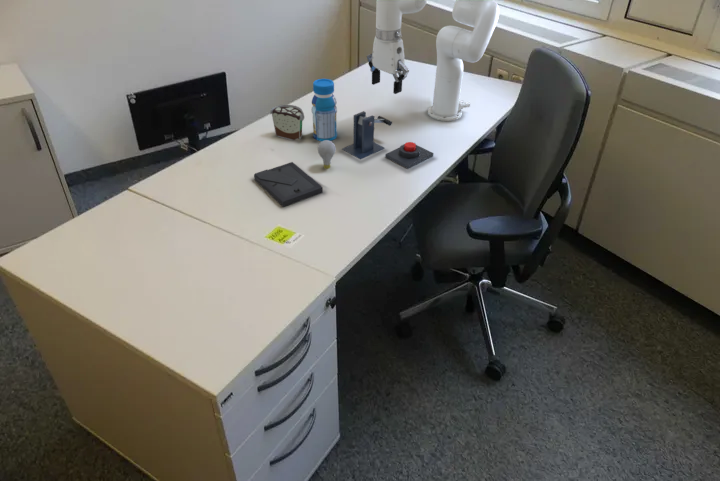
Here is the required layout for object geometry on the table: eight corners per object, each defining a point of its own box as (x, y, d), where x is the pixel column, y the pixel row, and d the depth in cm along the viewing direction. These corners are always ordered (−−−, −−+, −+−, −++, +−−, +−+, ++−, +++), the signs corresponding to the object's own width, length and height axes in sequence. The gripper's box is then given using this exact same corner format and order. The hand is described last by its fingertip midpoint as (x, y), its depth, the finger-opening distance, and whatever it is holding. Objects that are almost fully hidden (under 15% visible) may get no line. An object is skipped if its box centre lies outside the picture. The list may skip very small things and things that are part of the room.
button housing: (410, 147, 182) (411, 137, 180) (432, 159, 177) (434, 148, 174) (385, 159, 176) (385, 148, 173) (407, 171, 170) (408, 160, 168)
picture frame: (254, 179, 165) (283, 207, 154) (253, 173, 164) (282, 200, 153) (292, 167, 171) (322, 192, 160) (292, 160, 170) (322, 186, 159)
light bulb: (329, 176, 168) (328, 147, 161) (315, 171, 170) (313, 142, 164) (339, 168, 171) (338, 139, 165) (325, 163, 173) (324, 135, 167)
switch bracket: (366, 141, 186) (366, 106, 178) (384, 150, 180) (386, 115, 172) (341, 151, 180) (341, 116, 172) (360, 162, 174) (361, 125, 167)
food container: (312, 135, 188) (310, 108, 182) (303, 142, 184) (301, 115, 178) (281, 127, 192) (279, 101, 186) (272, 135, 188) (269, 108, 182)
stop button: (409, 145, 176) (409, 140, 175) (417, 149, 174) (418, 144, 173) (401, 149, 174) (402, 144, 173) (410, 153, 172) (410, 148, 171)
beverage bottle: (325, 146, 182) (323, 89, 170) (307, 138, 187) (304, 82, 174) (342, 138, 187) (342, 82, 175) (325, 130, 191) (323, 75, 179)
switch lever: (379, 121, 183) (381, 114, 182) (391, 127, 180) (393, 120, 179) (354, 121, 174) (355, 114, 173) (365, 127, 171) (367, 120, 170)
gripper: (418, 37, 160) (414, 92, 170) (377, 23, 169) (375, 76, 180) (400, 43, 156) (397, 99, 166) (359, 29, 165) (359, 83, 176)
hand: (386, 87), depth 173 cm, fingers open, 9 cm apart
